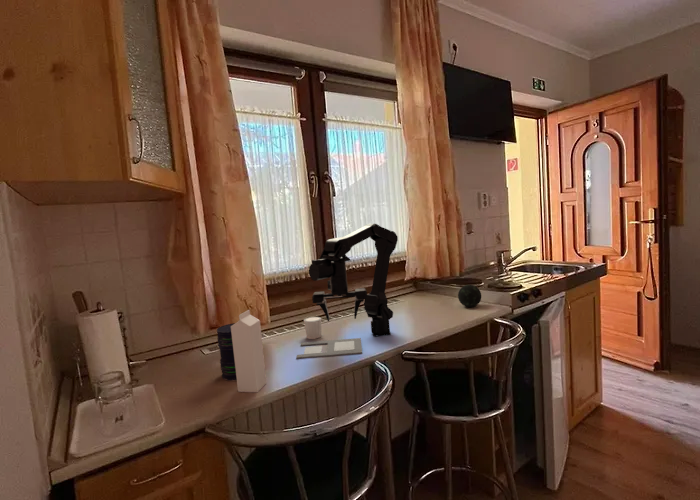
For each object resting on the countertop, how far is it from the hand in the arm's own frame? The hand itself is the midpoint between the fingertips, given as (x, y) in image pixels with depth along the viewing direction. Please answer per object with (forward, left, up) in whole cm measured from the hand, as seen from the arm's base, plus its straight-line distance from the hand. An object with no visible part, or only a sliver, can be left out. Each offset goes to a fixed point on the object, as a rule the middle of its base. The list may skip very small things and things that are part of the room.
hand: (341, 319), depth 144 cm
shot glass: (+12, -15, -10) cm, 22 cm away
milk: (+26, +28, -10) cm, 39 cm away
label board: (+5, 0, -10) cm, 11 cm away
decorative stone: (-56, -40, -10) cm, 70 cm away
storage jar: (+33, +17, -10) cm, 38 cm away
